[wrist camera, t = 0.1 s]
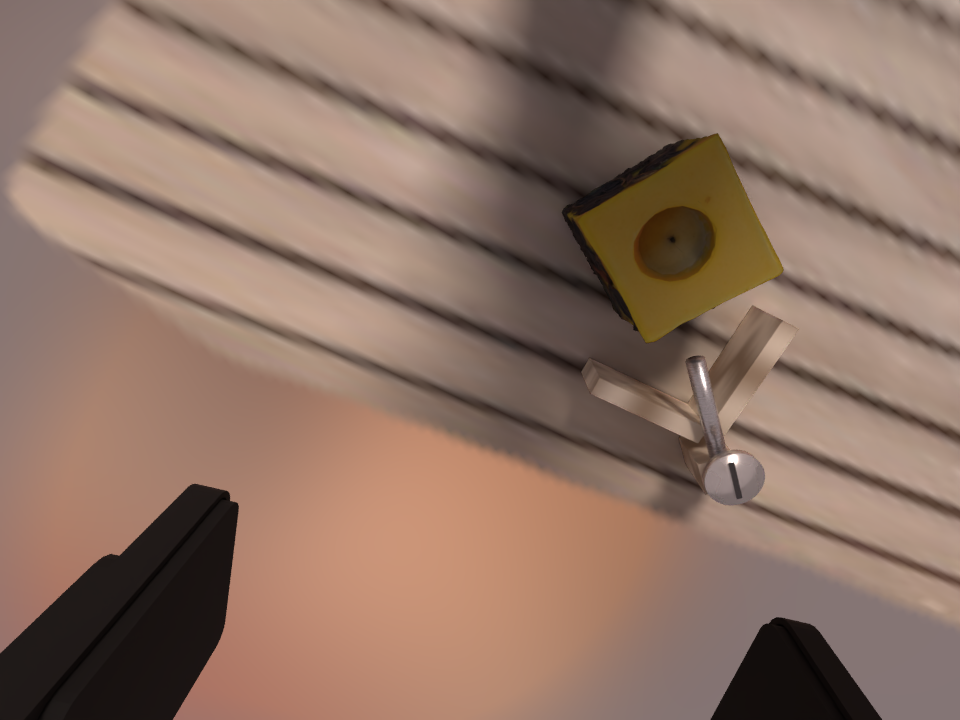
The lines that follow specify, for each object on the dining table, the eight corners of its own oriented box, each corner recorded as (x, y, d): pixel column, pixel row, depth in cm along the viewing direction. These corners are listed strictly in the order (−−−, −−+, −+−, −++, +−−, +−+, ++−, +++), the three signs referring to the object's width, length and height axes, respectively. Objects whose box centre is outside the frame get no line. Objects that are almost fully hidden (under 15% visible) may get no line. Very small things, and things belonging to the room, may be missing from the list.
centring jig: (577, 361, 47) (586, 382, 42) (765, 301, 45) (797, 316, 40) (616, 484, 51) (628, 515, 46) (790, 434, 48) (822, 462, 44)
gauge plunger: (663, 365, 41) (679, 383, 38) (720, 347, 40) (742, 364, 37) (695, 486, 44) (712, 512, 41) (748, 471, 44) (770, 497, 40)
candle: (727, 252, 43) (791, 273, 34) (616, 315, 45) (648, 351, 36) (672, 138, 41) (726, 126, 31) (557, 210, 43) (574, 219, 33)
